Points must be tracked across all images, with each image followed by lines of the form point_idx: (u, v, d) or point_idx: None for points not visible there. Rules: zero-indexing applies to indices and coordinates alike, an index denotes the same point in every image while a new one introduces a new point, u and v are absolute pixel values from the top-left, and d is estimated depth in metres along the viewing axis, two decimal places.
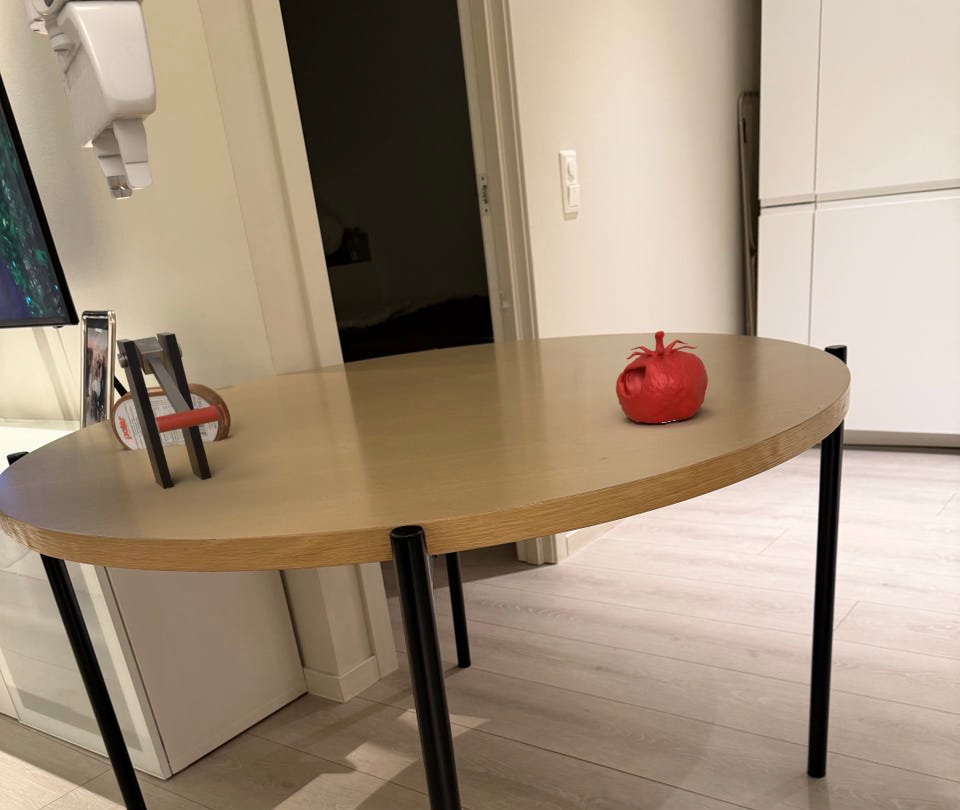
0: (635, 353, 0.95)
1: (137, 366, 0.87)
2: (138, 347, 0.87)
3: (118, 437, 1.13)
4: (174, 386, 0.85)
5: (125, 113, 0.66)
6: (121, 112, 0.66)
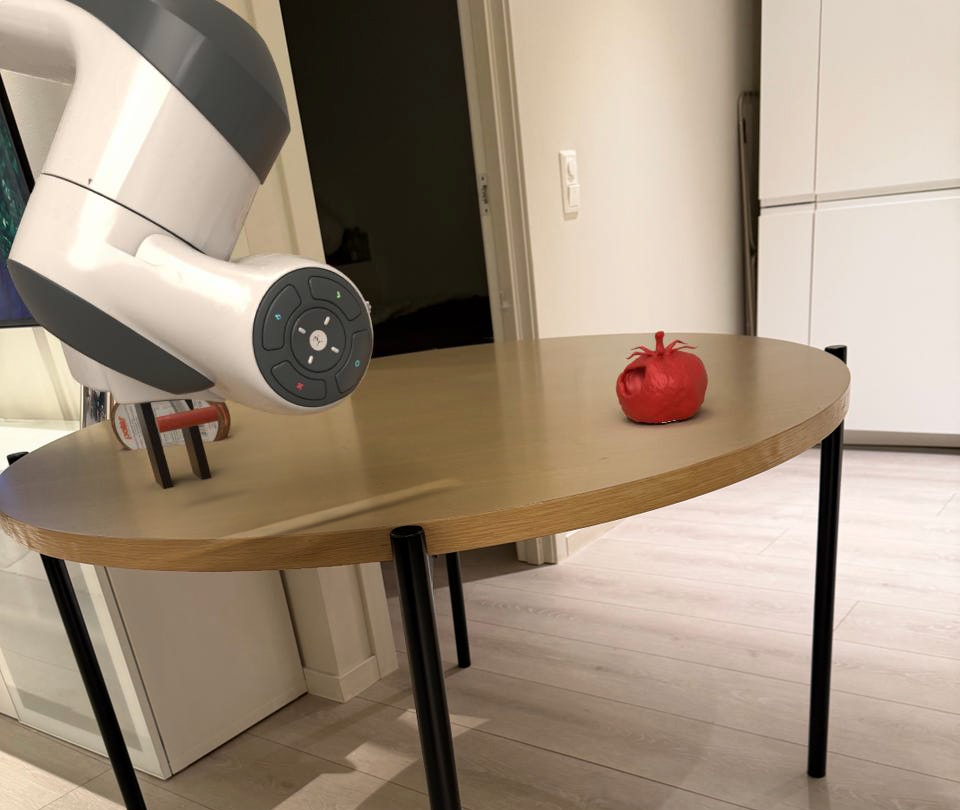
0: (635, 353, 0.95)
1: None
2: None
3: (118, 437, 1.13)
4: None
5: None
6: None
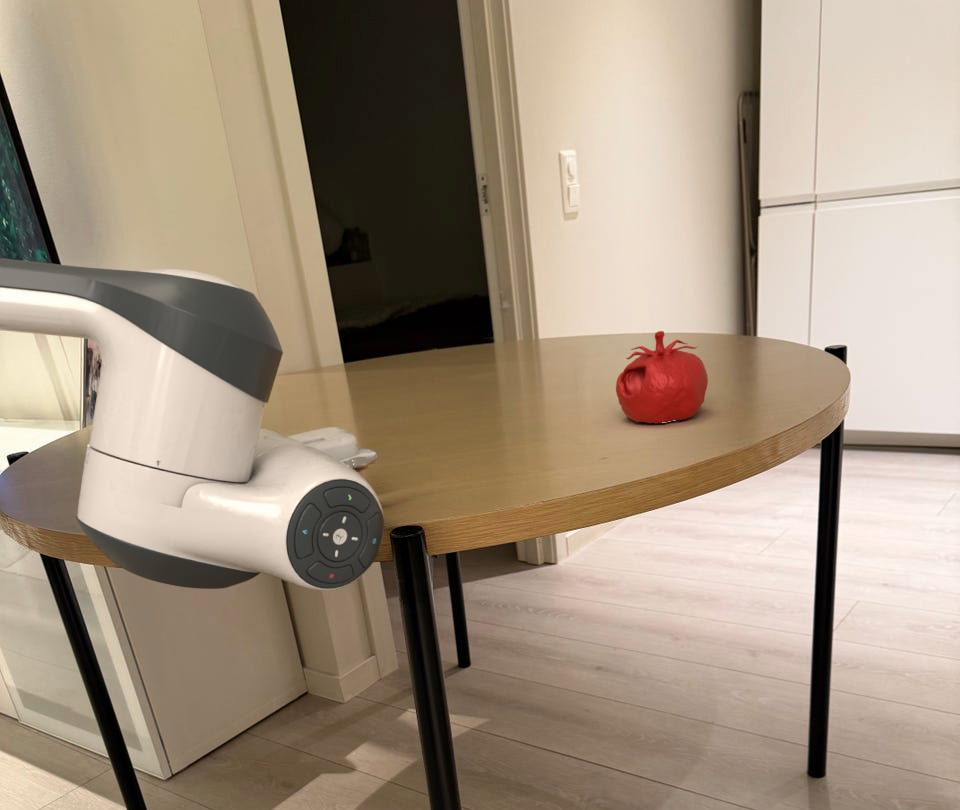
0: (635, 353, 0.95)
1: None
2: None
3: None
4: None
5: None
6: None
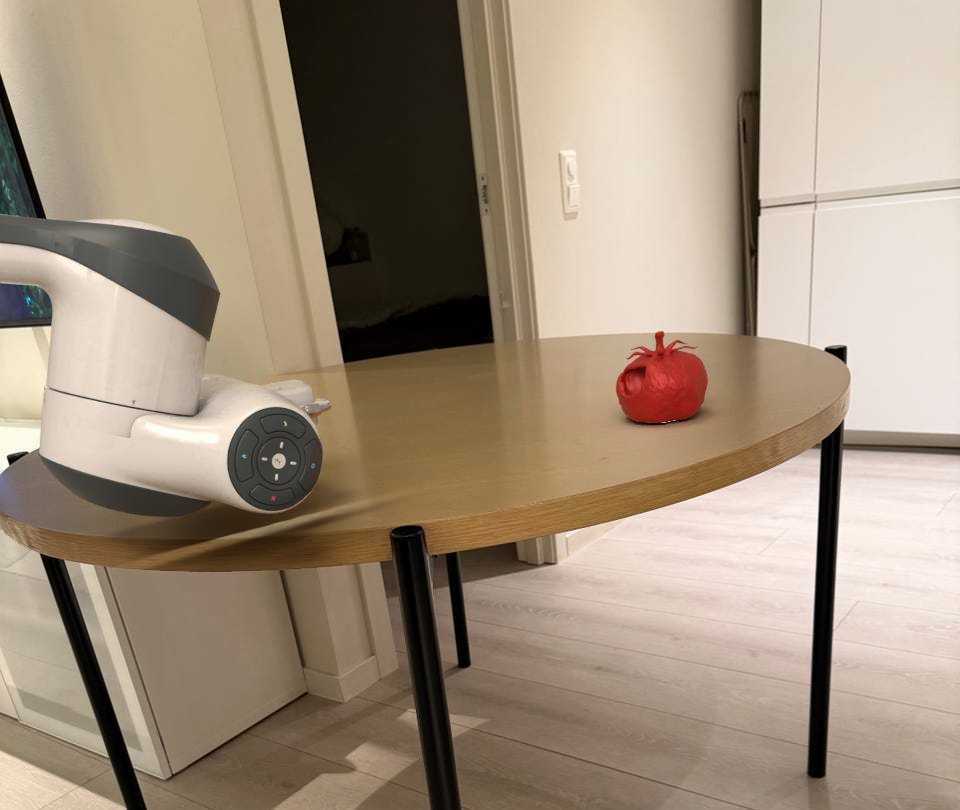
0: (635, 353, 0.95)
1: None
2: None
3: None
4: None
5: None
6: None
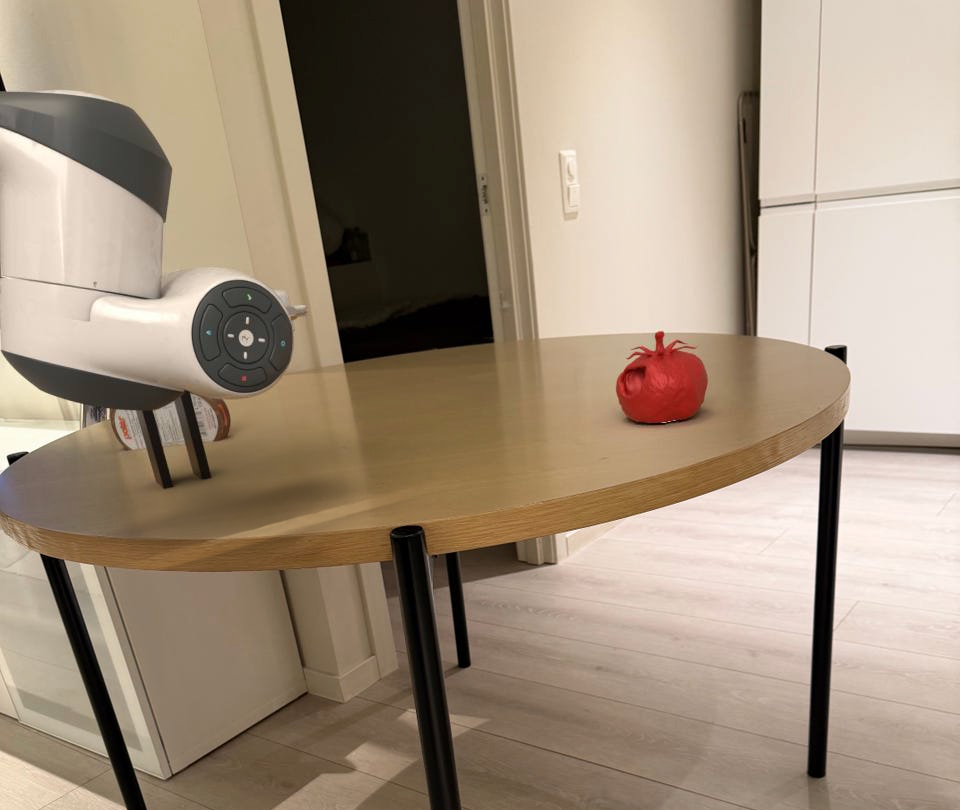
0: (635, 353, 0.95)
1: None
2: None
3: (118, 437, 1.13)
4: None
5: None
6: None
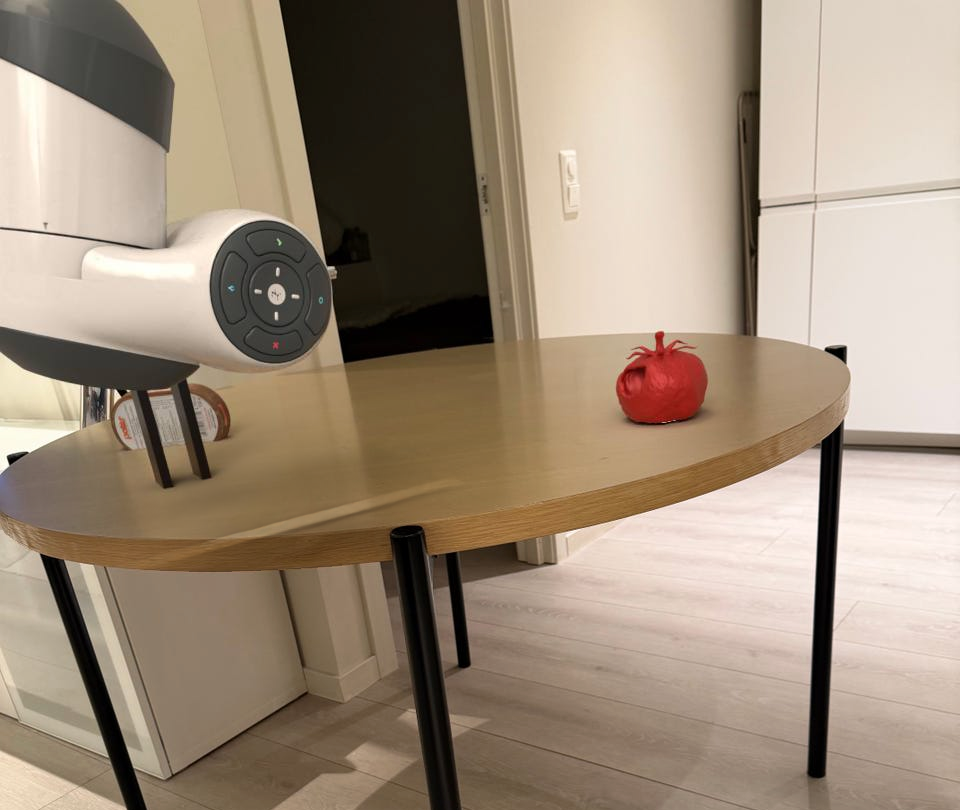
0: (635, 353, 0.95)
1: None
2: None
3: (118, 437, 1.13)
4: None
5: None
6: None
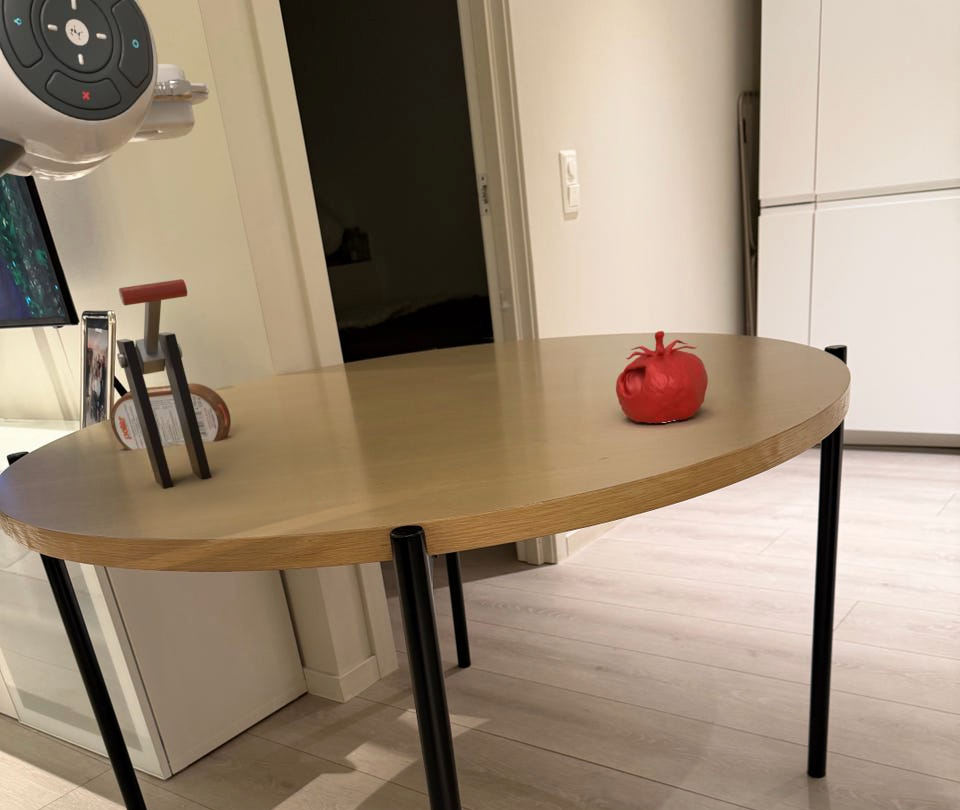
0: (635, 353, 0.95)
1: (137, 366, 0.87)
2: (136, 345, 0.88)
3: (118, 437, 1.13)
4: None
5: None
6: None
